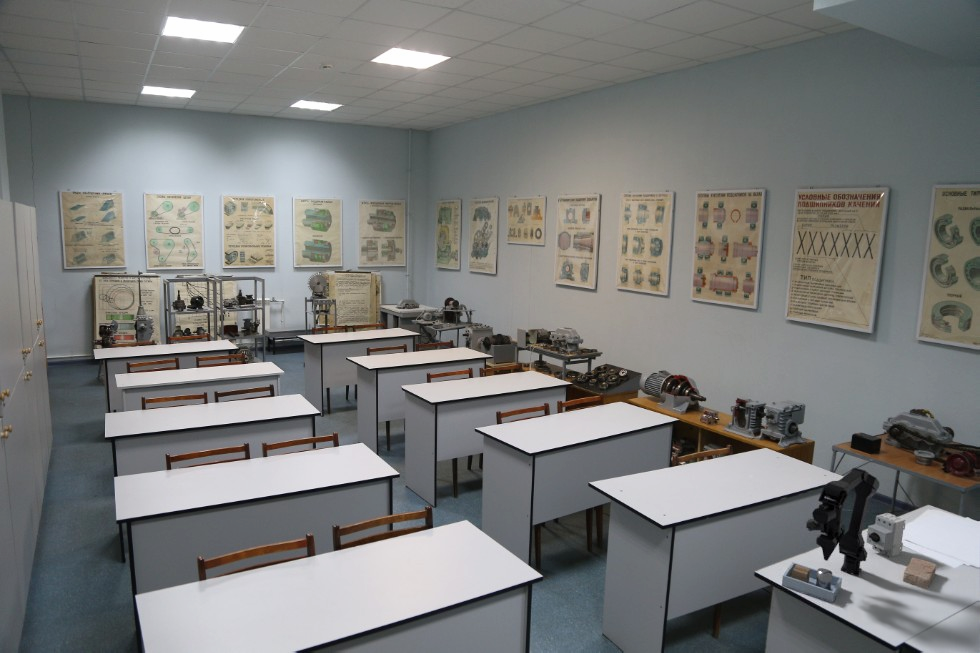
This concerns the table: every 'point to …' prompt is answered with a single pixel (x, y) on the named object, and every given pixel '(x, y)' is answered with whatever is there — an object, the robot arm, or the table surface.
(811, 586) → the tote
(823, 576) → the steel cylinder
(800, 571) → the walnut cube
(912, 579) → the brick
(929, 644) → the table surface
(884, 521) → the circuit breaker
